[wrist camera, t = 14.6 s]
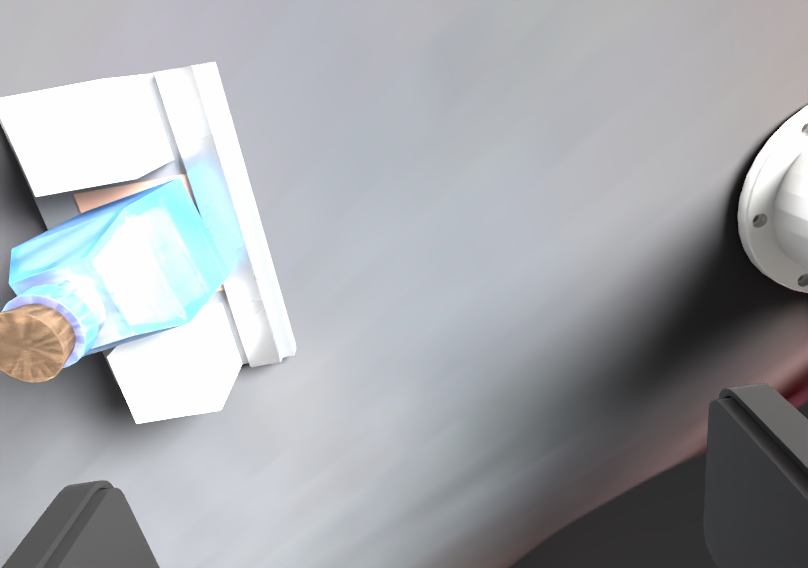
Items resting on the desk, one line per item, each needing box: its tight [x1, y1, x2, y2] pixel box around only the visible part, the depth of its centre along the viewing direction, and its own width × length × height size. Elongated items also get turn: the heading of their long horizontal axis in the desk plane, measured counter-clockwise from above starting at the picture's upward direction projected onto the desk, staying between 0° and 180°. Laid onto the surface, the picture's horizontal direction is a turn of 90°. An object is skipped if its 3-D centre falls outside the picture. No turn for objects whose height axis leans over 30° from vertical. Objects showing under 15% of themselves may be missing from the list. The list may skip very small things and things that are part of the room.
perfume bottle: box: [0, 177, 230, 382], centre depth 27 cm, size 6×6×12 cm
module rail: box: [0, 62, 297, 424], centre depth 31 cm, size 18×12×6 cm, turn 10°
